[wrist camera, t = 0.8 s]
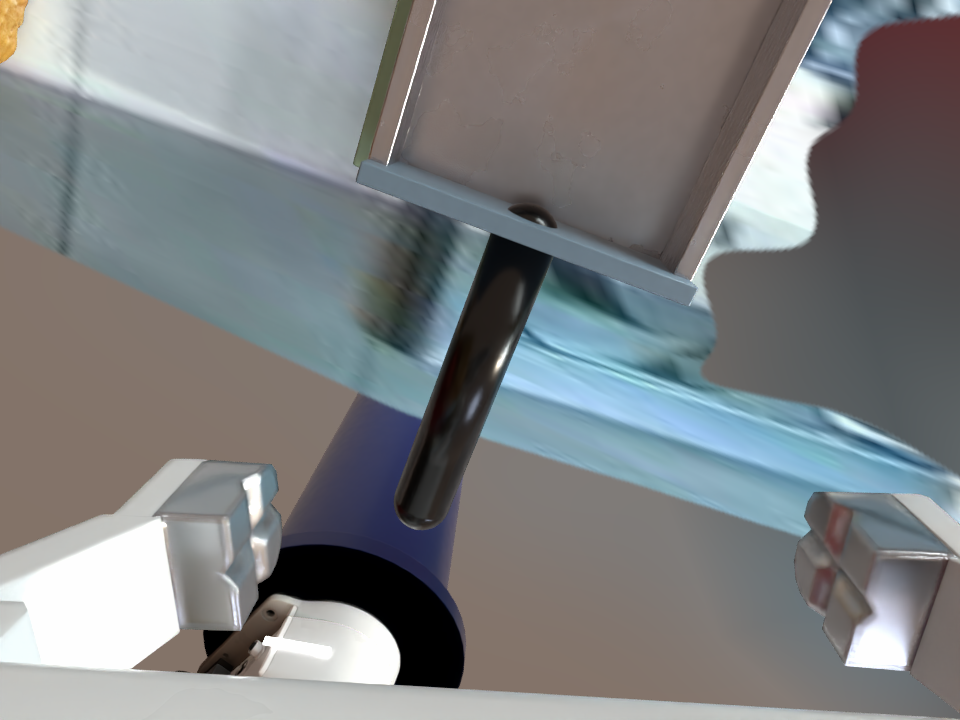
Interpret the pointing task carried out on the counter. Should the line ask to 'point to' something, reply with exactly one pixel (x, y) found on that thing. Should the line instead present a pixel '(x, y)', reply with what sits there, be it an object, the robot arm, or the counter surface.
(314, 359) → the counter surface
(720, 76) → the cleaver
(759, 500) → the counter surface
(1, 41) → the bagel
